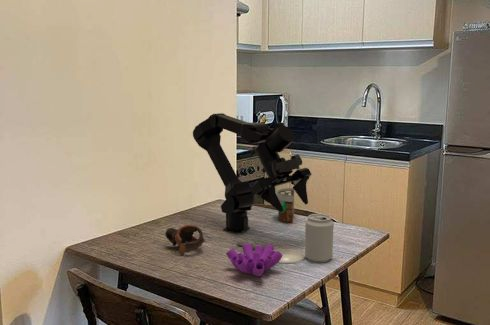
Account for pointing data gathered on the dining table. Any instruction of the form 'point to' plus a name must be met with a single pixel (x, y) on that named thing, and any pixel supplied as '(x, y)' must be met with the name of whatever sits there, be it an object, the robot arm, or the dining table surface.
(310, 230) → the can
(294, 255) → the disc
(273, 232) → the dining table surface
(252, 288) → the dining table surface
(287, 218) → the food container
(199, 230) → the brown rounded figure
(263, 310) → the dining table surface
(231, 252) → the purple tube coral sculpture
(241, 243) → the thin grey rod
